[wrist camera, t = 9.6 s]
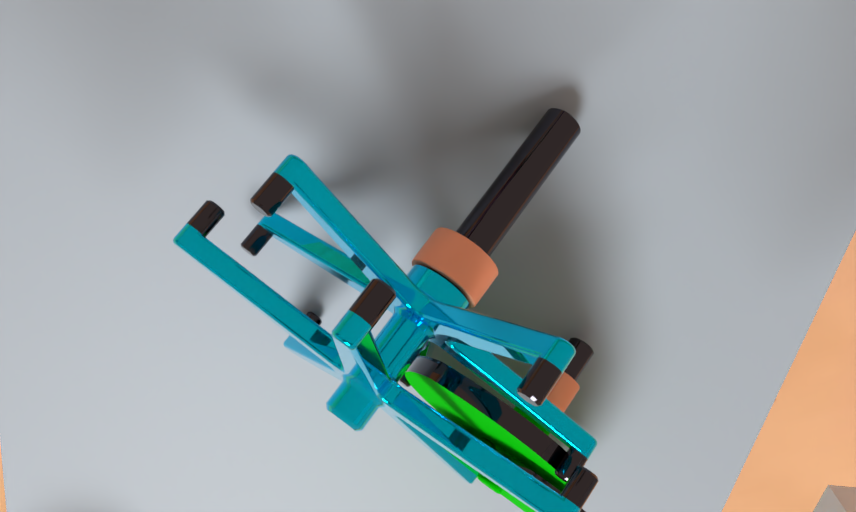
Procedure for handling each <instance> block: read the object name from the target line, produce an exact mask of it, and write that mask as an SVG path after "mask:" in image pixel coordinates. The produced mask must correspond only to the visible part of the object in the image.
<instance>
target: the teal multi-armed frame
mask: <svg viewBox="0 0 856 512" xmlns="http://www.w3.org/2000/svg"><path fill="white" fill-rule="evenodd" d="M580 133H581V129H580V126H579V123H578V122H577V120H576V119H575V118H574V117H573V116H572V115H571V114H569V113H568V112H566V111H564V110H562V109H559V108H550V109H548V110H547V111H546V112H545V114H544V115H543V116H542V118H541V119H540V120H539V122H538V123H537V124H536V126H535V127H534V128H533V130H532V131H531V132H530V134H529V135H528V136H527V138H526V139H525V140H524V142H523V143H522V144H521V146H520V147H519V148H518V149H517V151H516V152H515V153H514V155H513V156H512V157H511V159H510V160H509V161H508V163H507V164H506V165H505V167H504V168H503V169H502V171H501V172H500V173H499V175H498V176H497V177H496V179H495V180H494V181H493V183H492V184H491V185H490V187H489V188H488V189H487V190H486V192H485V193H484V194H483V196H482V197H481V198H480V200H479V201H478V202H477V204H476V205H475V206H474V208H473V209H472V210H471V212H470V213H469V214H468V216H467V217H466V218H465V220H464V221H463V222H462V224H461V225H460V226H459V228H458V229H457V230H456V231H453V230H451V229H448V228H443V227H440V228H437V229H436V230H435V231H434V232H433V233H432V235H431V236H430V237H429V239H428V240H427V241H426V243H425V244H424V245H423V247H422V248H421V249H420V250H419V252H418V253H417V254H416V256H415V257H414V258H413V260H412V266H413V267H412V268H411V269H410V271H409V272H408V273H407V275H406V274H405V273H404V272H403V270H402V269H401V268H400V267H399V266H398V265H397V264H396V263H395V262H394V260H393V259H392V258H391V257H390V256H389V255H388V254H387V253H386V252H385V251H384V249H383V248H382V247H381V246H380V245H379V244H378V243H377V242H376V241H375V239H374V238H373V237H372V236H371V235H370V234H369V233H368V232H367V231H366V229H365V228H364V227H363V226H362V225H361V224H360V223H359V222H358V221H357V220H356V218H355V217H354V216H353V215H352V214H351V213H350V212H349V211H348V210H347V208H346V207H345V206H344V205H343V204H342V203H341V202H340V201H339V200H338V198H337V197H336V196H335V195H334V194H333V193H332V192H331V191H330V190H329V189H328V187H327V186H326V185H325V184H324V183H323V182H322V181H321V180H320V179H319V177H318V176H317V175H316V174H315V173H314V172H313V171H312V170H311V169H310V167H309V166H308V165H307V164H306V163H305V162H304V161H303V160H302V159H301V158H299V157H298V156H296V155H294V154H289V155H287V156H286V157H285V159H284V160H283V161H282V162H281V163H280V164H279V166H278V167H277V168H276V169H275V170H274V171H273V173H272V174H271V175H270V176H269V177H268V178H267V180H266V181H265V182H264V183H263V184H262V185H261V187H260V188H259V189H258V190H257V191H256V193H255V194H254V195H253V196H252V197H251V198H250V203H251V205H252V206H253V207H254V208H255V209H256V210H257V211H259V212H260V213H261V214H263V215H264V217H263V218H262V219H261V220H260V221H259V222H258V224H257V225H256V226H255V227H254V228H253V230H252V231H251V232H250V233H249V234H248V235H247V237H246V238H245V239H244V240H243V241H242V243H241V248H242V249H243V250H245V251H246V252H247V253H248V254H250V255H251V256H257V255H258V253H259V252H260V251H261V250H262V249H263V247H264V246H265V245H266V244H267V243H268V241H269V240H270V239H271V238H272V237H274V238H275V239H277V240H278V241H280V242H282V243H283V244H285V245H286V246H288V247H289V248H291V249H293V250H294V251H296V252H297V253H299V254H300V255H302V256H304V257H305V258H307V259H308V260H310V261H311V262H313V263H315V264H316V265H318V266H319V267H321V268H322V269H324V270H326V271H327V272H329V273H330V274H332V275H334V276H335V277H337V278H338V279H340V280H341V281H343V282H345V283H346V284H348V285H349V286H351V287H352V288H354V289H356V290H357V291H359V292H360V293H361V294H360V295H359V296H358V298H357V299H356V300H355V302H354V303H353V304H352V306H351V307H350V308H349V309H348V311H347V312H346V313H345V315H344V316H343V317H342V318H341V320H340V321H339V322H338V324H337V325H336V326H335V327H334V329H333V330H332V333H331V334H330V333H329V332H327V331H326V330H325V329H323V328H322V327H321V326H320V325H321V323H322V320H321V319H320V318H319V317H318V316H317V315H316V314H314V313H313V312H311V311H310V312H307V314H306V315H305V314H304V313H303V312H301V311H300V310H299V309H298V308H296V307H295V306H294V305H292V304H291V303H290V302H288V301H287V300H286V299H285V298H283V297H282V296H281V295H279V294H278V293H277V292H276V291H274V290H273V289H272V288H270V287H269V286H268V285H267V284H265V283H264V282H263V281H261V280H260V279H259V278H257V277H256V276H255V275H254V274H252V273H251V272H250V271H248V270H247V269H246V268H245V267H243V266H242V265H241V264H239V263H238V262H237V261H235V260H234V259H233V258H232V257H230V256H229V255H228V254H226V253H225V252H224V251H223V250H221V249H220V248H219V247H217V246H216V245H215V244H214V243H212V242H211V241H210V240H208V239H207V238H206V237H207V236H208V234H209V233H210V232H211V231H212V230H213V229H214V227H215V226H216V225H217V224H218V223H219V222H220V220H221V219H222V218H223V217H224V216H225V212H224V210H223V209H222V208H221V207H220V206H218V205H217V204H216V203H214V202H213V201H211V200H206V201H205V203H204V204H203V205H202V206H201V207H200V208H199V209H198V211H197V212H196V213H195V214H194V215H193V216H192V217H191V219H190V220H189V221H188V222H187V223H186V224H185V225H184V227H183V228H182V229H181V230H180V231H179V232H178V234H177V235H176V236H175V237H174V238H173V243H174V244H175V245H176V246H177V247H178V248H179V249H180V250H182V251H183V252H184V253H186V254H187V255H188V256H189V257H191V258H192V259H193V260H195V261H196V262H197V263H198V264H200V265H201V266H202V267H204V268H205V269H206V270H207V271H209V272H210V273H211V274H212V275H214V276H215V277H216V278H218V279H219V280H220V281H221V282H223V283H224V284H225V285H227V286H228V287H229V288H230V289H232V290H233V291H234V292H235V293H237V294H238V295H239V296H241V297H242V298H243V299H244V300H246V301H247V302H248V303H250V304H251V305H252V306H253V307H255V308H256V309H257V310H259V311H260V312H261V313H262V314H264V315H265V316H266V317H267V318H269V319H270V320H271V321H273V322H274V323H275V324H276V325H278V326H279V327H280V328H282V329H283V330H284V331H285V332H287V333H288V334H289V336H288V338H287V339H286V340H285V341H284V343H283V345H284V347H285V348H286V349H288V350H289V351H290V352H292V353H293V354H295V355H297V356H298V357H300V358H302V359H304V360H305V361H307V362H309V363H311V364H312V365H314V366H316V367H318V368H319V369H321V370H323V371H325V372H326V373H328V374H330V375H332V376H333V377H335V378H337V379H338V380H340V381H342V382H341V384H340V385H339V386H338V388H337V389H336V390H335V392H334V393H333V394H332V396H331V397H330V398H329V399H328V401H327V402H326V408H327V410H328V411H329V412H330V413H331V414H332V415H334V416H335V417H336V418H338V419H339V420H340V421H341V422H343V423H344V424H346V425H347V426H348V427H350V428H351V429H352V430H354V431H355V432H357V431H362V430H363V429H364V428H365V426H366V425H367V424H368V422H369V421H370V420H371V418H372V417H373V415H374V414H375V413H376V411H377V410H378V409H379V408H381V409H382V410H383V411H384V412H386V413H387V414H388V415H389V416H390V417H391V418H393V419H394V420H395V421H396V422H397V423H398V424H399V425H401V426H402V427H403V428H404V429H405V430H406V431H407V432H409V433H410V434H411V435H412V436H413V437H414V438H415V439H417V440H418V441H419V442H420V443H421V444H422V445H424V446H425V447H426V448H427V449H428V450H429V451H430V452H432V453H433V454H434V455H435V456H436V457H437V458H438V459H440V460H441V461H442V462H443V463H444V464H445V465H447V466H448V467H449V468H450V469H451V470H452V471H453V472H455V473H456V474H457V475H458V476H459V477H460V478H462V479H463V480H464V481H466V482H467V483H469V484H472V483H473V482H474V481H475V479H476V478H478V479H479V480H480V481H481V482H482V483H483V484H485V485H486V486H487V487H489V488H490V489H491V490H493V491H494V492H496V493H498V494H501V495H503V496H504V497H505V498H507V499H508V500H509V501H511V502H512V503H513V504H515V505H516V506H517V507H519V508H520V509H522V510H523V511H524V512H586V511H584V510H583V509H582V507H583V506H584V504H585V503H586V501H587V499H588V498H589V496H590V495H591V493H592V491H593V490H594V488H595V487H596V485H597V483H598V482H599V481H598V477H597V476H596V475H595V474H594V473H592V472H591V471H590V470H588V469H587V468H585V467H584V465H585V464H586V462H587V461H588V459H589V457H590V456H591V454H592V453H593V451H594V450H595V448H596V446H597V444H598V443H597V440H596V439H595V438H594V437H593V436H591V435H590V434H589V433H588V432H587V431H585V430H584V429H583V428H582V427H580V426H579V425H578V424H577V423H576V422H574V421H573V420H572V419H571V418H570V417H568V416H567V415H566V414H565V413H564V412H565V410H566V409H567V407H568V406H569V404H570V403H571V401H572V400H573V398H574V397H575V395H576V394H577V392H578V391H579V389H580V387H579V384H578V383H577V382H576V380H577V379H578V377H579V376H580V374H581V373H582V371H583V370H584V368H585V367H586V365H587V364H588V362H589V361H590V359H591V358H592V356H593V355H594V351H593V349H592V348H591V347H590V346H589V345H588V344H587V343H585V342H584V341H582V340H581V339H578V338H575V337H573V338H570V339H569V341H567V340H565V339H563V338H561V337H558V336H555V335H552V334H548V333H545V332H541V331H538V330H535V329H531V328H528V327H525V326H521V325H518V324H514V323H511V322H508V321H504V320H501V319H498V318H494V317H491V316H487V315H484V314H481V313H477V312H474V311H470V310H467V309H468V308H474V307H475V306H476V305H477V303H478V302H479V300H480V299H481V298H482V296H483V295H484V293H485V292H486V291H487V289H488V288H489V287H490V285H491V284H492V282H493V281H494V280H495V278H496V277H497V276H498V268H497V266H496V264H495V263H494V262H493V260H492V259H491V258H490V256H491V255H492V253H493V252H494V250H495V249H496V248H497V246H498V245H499V244H500V242H501V241H502V240H503V238H504V237H505V235H506V234H507V233H508V231H509V230H510V229H511V227H512V226H513V225H514V223H515V222H516V220H517V219H518V218H519V216H520V215H521V214H522V212H523V211H524V210H525V208H526V207H527V206H528V204H529V203H530V201H531V200H532V199H533V197H534V196H535V195H536V193H537V192H538V191H539V189H540V188H541V186H542V185H543V184H544V182H545V181H546V180H547V178H548V177H549V176H550V174H551V173H552V171H553V170H554V169H555V167H556V166H557V165H558V163H559V162H560V161H561V159H562V158H563V156H564V155H565V154H566V152H567V151H568V150H569V148H570V147H571V146H572V144H573V143H574V141H575V140H576V139H577V137H578V136H579V135H580ZM291 193H292V194H293V196H294V197H295V198H296V199H297V200H298V201H299V202H300V203H301V205H302V206H303V207H304V208H305V209H306V210H307V211H308V212H309V213H310V215H311V216H312V217H313V218H314V219H315V220H316V221H317V222H318V223H319V225H320V226H321V227H322V228H323V229H324V230H325V231H326V232H327V233H328V235H329V236H330V237H331V238H332V239H333V240H334V241H335V242H336V243H337V245H338V246H339V247H340V248H341V249H342V250H343V251H344V252H345V253H344V252H342V251H341V250H339V249H337V248H335V247H334V246H332V245H330V244H329V243H327V242H325V241H323V240H322V239H320V238H318V237H316V236H315V235H313V234H311V233H309V232H308V231H306V230H304V229H303V228H301V227H299V226H297V225H296V224H294V223H292V222H290V221H289V220H287V219H285V218H283V217H282V216H280V215H278V214H276V213H275V212H276V211H277V210H278V208H279V207H280V206H281V205H282V204H283V202H284V201H285V200H286V199H287V198H288V196H289V195H290V194H291ZM386 310H388V311H390V312H391V313H392V314H393V315H392V316H391V317H390V319H389V320H388V321H387V323H386V324H385V325H384V327H383V328H382V329H381V331H380V332H379V333H378V335H377V336H376V337H375V339H374V337H373V335H372V332H371V330H372V329H373V327H374V326H375V325H376V323H377V322H378V321H379V319H380V318H381V317H382V315H383V314H384V313H385V311H386ZM435 344H436V345H438V346H439V347H441V348H442V349H443V350H445V351H446V352H447V353H448V354H450V355H451V356H452V357H454V358H455V359H456V360H457V361H459V362H460V363H461V364H462V365H464V366H465V367H466V368H468V369H469V370H470V371H471V372H473V373H474V374H475V375H477V376H478V377H479V378H480V379H482V380H483V381H484V382H485V383H487V384H488V385H489V386H491V387H492V388H493V389H494V390H496V391H497V392H498V393H500V394H501V395H502V396H503V397H505V398H506V399H507V400H509V401H510V402H511V403H512V404H514V405H515V408H514V409H513V408H511V407H510V406H508V405H507V404H506V403H504V402H503V401H501V400H500V399H499V398H497V397H496V396H494V395H493V394H491V393H490V392H488V391H487V390H486V389H484V388H483V387H481V386H480V385H478V384H477V383H475V382H474V381H472V380H470V379H469V378H467V377H466V376H464V375H463V374H461V373H459V372H458V371H456V370H455V369H453V368H451V367H450V366H448V365H446V364H445V363H443V362H441V361H439V360H436V359H434V358H431V357H432V354H433V350H434V347H435ZM492 353H494V354H497V355H501V356H504V357H508V358H511V359H514V360H518V361H521V362H525V363H528V364H531V365H532V367H531V368H530V370H529V371H528V373H527V374H526V375H525V377H524V378H523V379H522V378H521V377H520V376H518V375H517V374H516V373H515V372H514V371H512V370H511V369H510V368H509V367H508V366H506V365H505V364H504V363H503V362H501V361H500V360H499V359H498V358H497V357H495V356H494V355H493V354H492ZM398 381H399V382H400V383H401V384H402V385H404V386H406V387H410V386H412V387H413V388H414V389H415V390H416V391H417V392H418V393H419V394H420V395H421V396H422V397H423V398H424V399H425V400H426V401H427V402H428V403H429V404H430V405H431V406H432V407H433V408H432V407H431V406H429V405H428V404H426V403H425V402H423V401H422V400H420V399H419V398H418V397H416V396H415V395H413V394H412V393H410V392H409V391H407V390H406V389H404V388H403V387H402V386H400V385H399V384H398ZM434 408H435V409H436V410H435V409H434ZM550 433H551V434H552V435H553V436H555V437H556V438H557V439H558V440H560V441H561V442H562V443H563V444H565V445H566V446H567V447H569V449H568V451H567V452H566V451H565V450H564V449H563V448H562V447H561V446H560V445H558V444H557V443H556V442H555V441H554V440H553V439H551V438H550V437H549V434H550Z"/></svg>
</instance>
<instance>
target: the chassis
mask: <svg viewBox="0 0 856 512" xmlns="http://www.w3.org/2000/svg"><path fill="white" fill-rule="evenodd" d="M550 108H559V109H562V110H564V111H566V112H568V113H569V114H571V115H572V116H573V117H574V118H575V119H576V120H577V122H578V123H579V126H580V129H581V133H580V135H579V136H578V137H577V139H576V140H575V141H574V143H573V144H572V146H571V147H570V148H569V150H568V151H567V152H566V154H565V155H564V156H563V158H562V159H561V161H560V162H559V163H558V165H557V166H556V167H555V169H554V170H553V171H552V173H551V174H550V176H549V177H548V178H547V180H546V181H545V182H544V184H543V185H542V186H541V188H540V189H539V191H538V192H537V193H536V195H535V196H534V197H533V199H532V200H531V201H530V203H529V204H528V206H527V207H526V208H525V210H524V211H523V212H522V214H521V215H520V216H519V218H518V219H517V220H516V222H515V223H514V225H513V226H512V227H511V229H510V230H509V231H508V233H507V234H506V235H505V237H504V238H503V240H502V241H501V242H500V244H499V245H498V246H497V248H496V249H495V250H494V252H493V253H492V255H491V256H490V258H491V259H492V260H493V262H494V263H495V264H496V266H497V268H498V276H497V277H496V278H495V280H494V281H493V282H492V284H491V285H490V287H489V288H488V289H487V291H486V292H485V293H484V295H483V296H482V298H481V299H480V300H479V302H478V303H477V305H476V306H475V307H474V308H468V309H467V310H470V311H474V312H477V313H481V314H484V315H487V316H491V317H494V318H498V319H501V320H504V321H508V322H511V323H514V324H518V325H521V326H525V327H528V328H531V329H535V330H538V331H541V332H545V333H548V334H552V335H555V336H558V337H561V338H563V339H565V340H567V341H569V339H570V338H573V337H575V338H578V339H581V340H582V341H584V342H585V343H587V344H588V345H589V346H590V347H591V348H592V349H593V351H594V355H593V356H592V358H591V359H590V361H589V362H588V364H587V365H586V367H585V368H584V370H583V371H582V373H581V374H580V376H579V377H578V379H577V380H576V382H577V383H578V384H579V387H580V389H579V391H578V392H577V394H576V395H575V397H574V398H573V400H572V401H571V403H570V404H569V406H568V407H567V409H566V410H565V412H564V413H565V414H566V415H567V416H568V417H570V418H571V419H572V420H573V421H574V422H576V423H577V424H578V425H579V426H580V427H582V428H583V429H584V430H585V431H587V432H588V433H589V434H590V435H591V436H593V437H594V438H595V439H596V440H597V443H598V444H597V446H596V448H595V450H594V451H593V453H592V454H591V456H590V457H589V459H588V461H587V462H586V464H585V465H584V467H585V468H587V469H588V470H590V471H591V472H592V473H594V474H595V475H596V476H597V477H598V481H599V482H598V483H597V485H596V487H595V488H594V490H593V491H592V493H591V495H590V496H589V498H588V499H587V501H586V503H585V504H584V506H583V507H582V509H583V510H584V511H586V512H722V509H723V507H724V505H725V503H726V501H727V499H728V497H729V495H730V493H731V491H732V489H733V486H734V484H735V482H736V480H737V478H738V476H739V474H740V472H741V470H742V468H743V465H744V463H745V461H746V459H747V457H748V455H749V453H750V451H751V449H752V447H753V445H754V442H755V440H756V438H757V436H758V434H759V432H760V430H761V428H762V426H763V424H764V421H765V419H766V417H767V415H768V413H769V411H770V409H771V407H772V405H773V403H774V400H775V398H776V396H777V394H778V392H779V390H780V388H781V386H782V384H783V382H784V380H785V377H786V375H787V373H788V371H789V369H790V367H791V365H792V363H793V361H794V359H795V356H796V354H797V352H798V350H799V348H800V346H801V344H802V342H803V340H804V338H805V336H806V333H807V331H808V329H809V327H810V325H811V323H812V321H813V319H814V317H815V315H816V312H817V310H818V308H819V306H820V304H821V302H822V300H823V298H824V296H825V294H826V292H827V289H828V287H829V285H830V283H831V281H832V279H833V277H834V275H835V273H836V271H837V268H838V266H839V264H840V262H841V260H842V258H843V256H844V254H845V252H846V250H847V247H848V245H849V243H850V241H851V239H852V237H853V235H854V233H855V231H856V0H0V443H1V454H2V465H3V477H4V488H5V499H6V510H7V512H524V511H523V510H522V509H520V508H519V507H517V506H516V505H515V504H513V503H512V502H511V501H509V500H508V499H507V498H505V497H504V496H503V495H501V494H498V493H496V492H494V491H493V490H491V489H490V488H489V487H487V486H486V485H485V484H483V483H482V482H481V481H480V480H479V479H478V478H476V479H475V481H474V482H473V483H472V484H469V483H467V482H466V481H464V480H463V479H462V478H460V477H459V476H458V475H457V474H456V473H455V472H453V471H452V470H451V469H450V468H449V467H448V466H447V465H445V464H444V463H443V462H442V461H441V460H440V459H438V458H437V457H436V456H435V455H434V454H433V453H432V452H430V451H429V450H428V449H427V448H426V447H425V446H424V445H422V444H421V443H420V442H419V441H418V440H417V439H415V438H414V437H413V436H412V435H411V434H410V433H409V432H407V431H406V430H405V429H404V428H403V427H402V426H401V425H399V424H398V423H397V422H396V421H395V420H394V419H393V418H391V417H390V416H389V415H388V414H387V413H386V412H384V411H383V410H382V409H381V408H379V409H378V410H377V411H376V413H375V414H374V415H373V417H372V418H371V420H370V421H369V422H368V424H367V425H366V426H365V428H364V429H363V430H362V431H357V432H355V431H354V430H352V429H351V428H350V427H348V426H347V425H346V424H344V423H343V422H341V421H340V420H339V419H338V418H336V417H335V416H334V415H332V414H331V413H330V412H329V411H328V410H327V408H326V402H327V401H328V399H329V398H330V397H331V396H332V394H333V393H334V392H335V390H336V389H337V388H338V386H339V385H340V384H341V382H342V381H340V380H338V379H337V378H335V377H333V376H332V375H330V374H328V373H326V372H325V371H323V370H321V369H319V368H318V367H316V366H314V365H312V364H311V363H309V362H307V361H305V360H304V359H302V358H300V357H298V356H297V355H295V354H293V353H292V352H290V351H289V350H288V349H286V348H285V347H284V345H283V343H284V341H285V340H286V339H287V338H288V336H289V334H288V333H287V332H285V331H284V330H283V329H282V328H280V327H279V326H278V325H276V324H275V323H274V322H273V321H271V320H270V319H269V318H267V317H266V316H265V315H264V314H262V313H261V312H260V311H259V310H257V309H256V308H255V307H253V306H252V305H251V304H250V303H248V302H247V301H246V300H244V299H243V298H242V297H241V296H239V295H238V294H237V293H235V292H234V291H233V290H232V289H230V288H229V287H228V286H227V285H225V284H224V283H223V282H221V281H220V280H219V279H218V278H216V277H215V276H214V275H212V274H211V273H210V272H209V271H207V270H206V269H205V268H204V267H202V266H201V265H200V264H198V263H197V262H196V261H195V260H193V259H192V258H191V257H189V256H188V255H187V254H186V253H184V252H183V251H182V250H180V249H179V248H178V247H177V246H176V245H175V244H174V243H173V238H174V237H175V236H176V235H177V234H178V232H179V231H180V230H181V229H182V228H183V227H184V225H185V224H186V223H187V222H188V221H189V220H190V219H191V217H192V216H193V215H194V214H195V213H196V212H197V211H198V209H199V208H200V207H201V206H202V205H203V204H204V203H205V201H206V200H211V201H213V202H214V203H216V204H217V205H218V206H220V207H221V208H222V209H223V210H224V212H225V216H224V217H223V218H222V219H221V220H220V222H219V223H218V224H217V225H216V226H215V227H214V229H213V230H212V231H211V232H210V233H209V234H208V236H207V237H206V238H207V239H208V240H210V241H211V242H212V243H214V244H215V245H216V246H217V247H219V248H220V249H221V250H223V251H224V252H225V253H226V254H228V255H229V256H230V257H232V258H233V259H234V260H235V261H237V262H238V263H239V264H241V265H242V266H243V267H245V268H246V269H247V270H248V271H250V272H251V273H252V274H254V275H255V276H256V277H257V278H259V279H260V280H261V281H263V282H264V283H265V284H267V285H268V286H269V287H270V288H272V289H273V290H274V291H276V292H277V293H278V294H279V295H281V296H282V297H283V298H285V299H286V300H287V301H288V302H290V303H291V304H292V305H294V306H295V307H296V308H298V309H299V310H300V311H301V312H303V313H304V314H305V315H306V314H307V312H310V311H311V312H313V313H314V314H316V315H317V316H318V317H319V318H320V319H321V320H322V323H321V325H320V326H321V327H322V328H323V329H325V330H326V331H327V332H329V333H330V334H331V333H332V330H333V329H334V327H335V326H336V325H337V324H338V322H339V321H340V320H341V318H342V317H343V316H344V315H345V313H346V312H347V311H348V309H349V308H350V307H351V306H352V304H353V303H354V302H355V300H356V299H357V298H358V296H359V295H360V294H361V293H360V292H359V291H357V290H356V289H354V288H352V287H351V286H349V285H348V284H346V283H345V282H343V281H341V280H340V279H338V278H337V277H335V276H334V275H332V274H330V273H329V272H327V271H326V270H324V269H322V268H321V267H319V266H318V265H316V264H315V263H313V262H311V261H310V260H308V259H307V258H305V257H304V256H302V255H300V254H299V253H297V252H296V251H294V250H293V249H291V248H289V247H288V246H286V245H285V244H283V243H282V242H280V241H278V240H277V239H275V238H274V237H272V238H271V239H270V240H269V241H268V243H267V244H266V245H265V246H264V247H263V249H262V250H261V251H260V252H259V253H258V255H257V256H251V255H250V254H248V253H247V252H246V251H245V250H243V249H242V248H241V243H242V241H243V240H244V239H245V238H246V237H247V235H248V234H249V233H250V232H251V231H252V230H253V228H254V227H255V226H256V225H257V224H258V222H259V221H260V220H261V219H262V218H263V217H264V215H263V214H261V213H260V212H259V211H257V210H256V209H255V208H254V207H253V206H252V205H251V203H250V198H251V197H252V196H253V195H254V194H255V193H256V191H257V190H258V189H259V188H260V187H261V185H262V184H263V183H264V182H265V181H266V180H267V178H268V177H269V176H270V175H271V174H272V173H273V171H274V170H275V169H276V168H277V167H278V166H279V164H280V163H281V162H282V161H283V160H284V159H285V157H286V156H287V155H289V154H294V155H296V156H298V157H299V158H301V159H302V160H303V161H304V162H305V163H306V164H307V165H308V166H309V167H310V169H311V170H312V171H313V172H314V173H315V174H316V175H317V176H318V177H319V179H320V180H321V181H322V182H323V183H324V184H325V185H326V186H327V187H328V189H329V190H330V191H331V192H332V193H333V194H334V195H335V196H336V197H337V198H338V200H339V201H340V202H341V203H342V204H343V205H344V206H345V207H346V208H347V210H348V211H349V212H350V213H351V214H352V215H353V216H354V217H355V218H356V220H357V221H358V222H359V223H360V224H361V225H362V226H363V227H364V228H365V229H366V231H367V232H368V233H369V234H370V235H371V236H372V237H373V238H374V239H375V241H376V242H377V243H378V244H379V245H380V246H381V247H382V248H383V249H384V251H385V252H386V253H387V254H388V255H389V256H390V257H391V258H392V259H393V260H394V262H395V263H396V264H397V265H398V266H399V267H400V268H401V269H402V270H403V272H404V273H405V274H406V275H407V273H408V272H409V271H410V269H411V268H412V267H413V266H412V260H413V258H414V257H415V256H416V254H417V253H418V252H419V250H420V249H421V248H422V247H423V245H424V244H425V243H426V241H427V240H428V239H429V237H430V236H431V235H432V233H433V232H434V231H435V230H436V229H437V228H440V227H443V228H448V229H451V230H453V231H456V230H457V229H458V228H459V226H460V225H461V224H462V222H463V221H464V220H465V218H466V217H467V216H468V214H469V213H470V212H471V210H472V209H473V208H474V206H475V205H476V204H477V202H478V201H479V200H480V198H481V197H482V196H483V194H484V193H485V192H486V190H487V189H488V188H489V187H490V185H491V184H492V183H493V181H494V180H495V179H496V177H497V176H498V175H499V173H500V172H501V171H502V169H503V168H504V167H505V165H506V164H507V163H508V161H509V160H510V159H511V157H512V156H513V155H514V153H515V152H516V151H517V149H518V148H519V147H520V146H521V144H522V143H523V142H524V140H525V139H526V138H527V136H528V135H529V134H530V132H531V131H532V130H533V128H534V127H535V126H536V124H537V123H538V122H539V120H540V119H541V118H542V116H543V115H544V114H545V112H546V111H547V110H548V109H550ZM275 213H276V214H278V215H280V216H282V217H283V218H285V219H287V220H289V221H290V222H292V223H294V224H296V225H297V226H299V227H301V228H303V229H304V230H306V231H308V232H309V233H311V234H313V235H315V236H316V237H318V238H320V239H322V240H323V241H325V242H327V243H329V244H330V245H332V246H334V247H335V248H337V249H339V250H341V251H342V252H344V251H343V250H342V249H341V248H340V247H339V246H338V245H337V243H336V242H335V241H334V240H333V239H332V238H331V237H330V236H329V235H328V233H327V232H326V231H325V230H324V229H323V228H322V227H321V226H320V225H319V223H318V222H317V221H316V220H315V219H314V218H313V217H312V216H311V215H310V213H309V212H308V211H307V210H306V209H305V208H304V207H303V206H302V205H301V203H300V202H299V201H298V200H297V199H296V198H295V197H294V196H293V194H292V193H291V194H290V195H289V196H288V198H287V199H286V200H285V201H284V202H283V204H282V205H281V206H280V207H279V208H278V210H277V211H276V212H275ZM344 253H345V252H344ZM392 315H393V314H392V313H391V312H390V311H388V310H386V311H385V313H384V314H383V315H382V317H381V318H380V319H379V321H378V322H377V323H376V325H375V326H374V327H373V329H372V330H371V332H372V335H373V337H374V339H375V337H376V336H377V335H378V333H379V332H380V331H381V329H382V328H383V327H384V325H385V324H386V323H387V321H388V320H389V319H390V317H391V316H392ZM492 354H493V355H494V356H495V357H497V358H498V359H499V360H500V361H501V362H503V363H504V364H505V365H506V366H508V367H509V368H510V369H511V370H512V371H514V372H515V373H516V374H517V375H518V376H520V377H521V378H522V379H523V378H524V377H525V375H526V374H527V373H528V371H529V370H530V368H531V367H532V365H531V364H528V363H525V362H521V361H518V360H514V359H511V358H508V357H504V356H501V355H497V354H494V353H492ZM431 358H434V359H436V360H439V361H441V362H443V363H445V364H446V365H448V366H450V367H451V368H453V369H455V370H456V371H458V372H459V373H461V374H463V375H464V376H466V377H467V378H469V379H470V380H472V381H474V382H475V383H477V384H478V385H480V386H481V387H483V388H484V389H486V390H487V391H488V392H490V393H491V394H493V395H494V396H496V397H497V398H499V399H500V400H501V401H503V402H504V403H506V404H507V405H508V406H510V407H511V408H513V409H514V408H515V405H514V404H512V403H511V402H510V401H509V400H507V399H506V398H505V397H503V396H502V395H501V394H500V393H498V392H497V391H496V390H494V389H493V388H492V387H491V386H489V385H488V384H487V383H485V382H484V381H483V380H482V379H480V378H479V377H478V376H477V375H475V374H474V373H473V372H471V371H470V370H469V369H468V368H466V367H465V366H464V365H462V364H461V363H460V362H459V361H457V360H456V359H455V358H454V357H452V356H451V355H450V354H448V353H447V352H446V351H445V350H443V349H442V348H441V347H439V346H438V345H436V344H435V347H434V350H433V354H432V357H431ZM398 384H399V385H400V386H402V387H403V388H404V389H406V390H407V391H409V392H410V393H412V394H413V395H415V396H416V397H418V398H419V399H420V400H422V401H423V402H425V403H426V404H428V405H429V406H431V405H430V404H429V403H428V402H427V401H426V400H425V399H424V398H423V397H422V396H421V395H420V394H419V393H418V392H417V391H416V390H415V389H414V388H413V387H412V386H410V387H406V386H404V385H402V384H401V383H400V382H399V381H398ZM431 407H432V406H431ZM432 408H433V407H432ZM434 409H435V408H434ZM435 410H436V409H435ZM549 437H550V438H551V439H553V440H554V441H555V442H556V443H557V444H558V445H560V446H561V447H562V448H563V449H564V450H565V451H566V452H567V451H568V449H569V447H567V446H566V445H565V444H563V443H562V442H561V441H560V440H558V439H557V438H556V437H555V436H553V435H552V434H551V433H550V434H549Z"/></svg>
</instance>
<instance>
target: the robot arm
mask: <svg viewBox="0 0 856 512" xmlns="http://www.w3.org/2000/svg"><path fill="white" fill-rule="evenodd" d="M813 512H856V488H855V487H845V486H834V485H828V486H827V488H826V490H825V491H824V493H823V495H822V497H821V498H820V500H819V502H818V504H817V506H816V507H815V509H814V511H813Z"/></svg>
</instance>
